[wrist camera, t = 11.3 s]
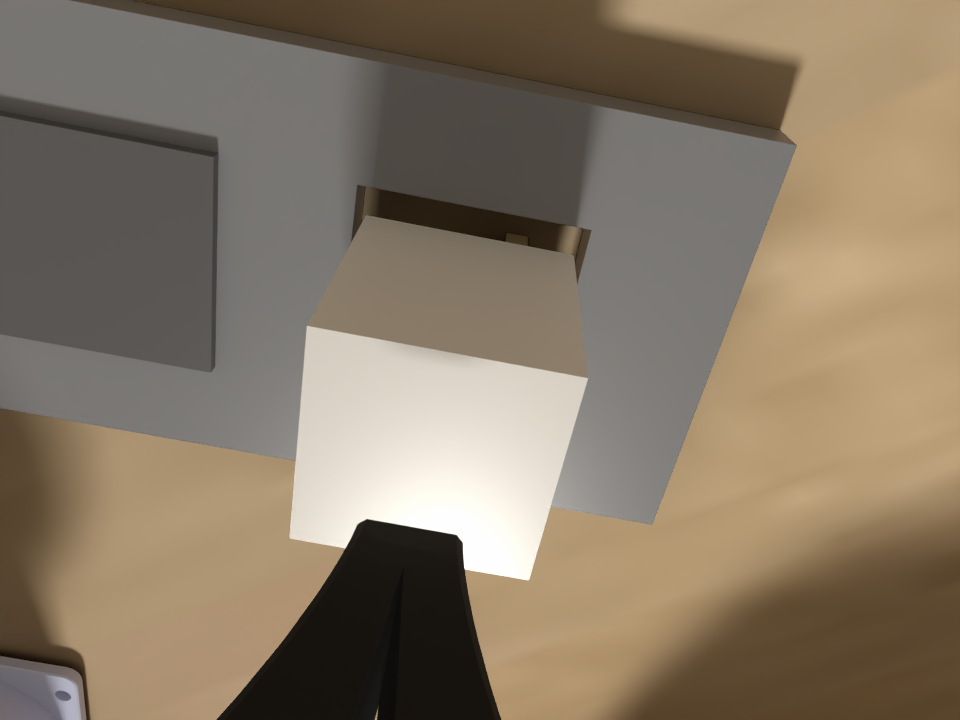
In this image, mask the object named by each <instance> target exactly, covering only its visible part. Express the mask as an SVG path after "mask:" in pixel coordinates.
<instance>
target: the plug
mask: <svg viewBox="0 0 960 720" xmlns="http://www.w3.org/2000/svg"><path fill="white" fill-rule="evenodd" d="M587 381H588V373H587V364H586V356H585V347H584V338H583V330H582V321H581V313H580V304H579V296H578V287H577V279H576V270H575V261H574V255H571V254H566V253H560V252H555V251H550V250H545V249H540V248H534V247H529V246H528V237H526V236H521V235H515V234H510V233H506V238H505V242H503V241H498V240H493V239H488V238H482V237H477V236H472V235H467V234H462V233H456V232H451V231H446V230H441V229H436V228H431V227H425V226H420V225H415V224H410V223H405V222H399V221H394V220H389V219H384V218H379V217H373V216H368V215H366V216H365V218H364V220H363V222H362V223H361V225H360V227H359V229H358V231H357V233H356V235H355V237H354V238H353V240H352V242H351V244H350V246H349V248H348V250H347V251H346V253H345V255H344V257H343V259H342V261H341V263H340V265H339V266H338V268H337V270H336V272H335V274H334V276H333V278H332V280H331V281H330V283H329V285H328V287H327V289H326V291H325V293H324V295H323V296H322V298H321V300H320V302H319V304H318V306H317V308H316V310H315V311H314V313H313V315H312V317H311V319H310V321H309V323H308V325H307V330H306V342H305V354H304V367H303V379H302V391H301V403H300V416H299V428H298V440H297V453H296V465H295V477H294V490H293V502H292V514H291V527H290V539H296V540H302V541H307V542H313V543H319V544H324V545H330V546H336V547H341V548H346V547H347V545H348V543H349V541H350V539H351V537H352V535H353V533H354V531H355V528H356V526H357V524H358V523H360V522H362V521H364V520H366V519H370V520H376V521H381V522H387V523H393V524H398V525H404V526H410V527H411V528H412V527H415V528H421V529H427V530H432V531H438V532H443V533H449V534H455V535H457V536H458V537H459V538H460V540H461V541H462V542H463V557H464V569H467V570H472V571H478V572H484V573H490V574H495V575H501V576H507V577H512V578H518V579H524V580H529V578H530V575H531V571H532V568H533V565H534V561H535V558H536V554H537V551H538V548H539V544H540V541H541V537H542V534H543V531H544V527H545V524H546V520H547V517H548V513H549V510H550V507H551V503H552V500H553V496H554V493H555V490H556V486H557V483H558V479H559V476H560V473H561V469H562V466H563V462H564V459H565V456H566V452H567V449H568V445H569V442H570V438H571V435H572V432H573V428H574V425H575V421H576V418H577V415H578V411H579V408H580V404H581V401H582V398H583V394H584V391H585V387H586V384H587Z"/></svg>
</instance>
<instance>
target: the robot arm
mask: <svg viewBox="0 0 960 720" xmlns="http://www.w3.org/2000/svg"><path fill="white" fill-rule="evenodd" d="M378 705H379V707H378ZM377 709H378V717H377V720H501V717H500V715H499V712H498V709H497V705H496V702H495V699H494V696H493V692H492V689H491V686H490V682H489V679H488V675H487V671H486V668H485V664H484V660H483V657H482V653H481V649H480V645H479V642H478V638H477V633H476V629H475V625H474V621H473V616H472V611H471V606H470V600H469V595H468V589H467V583H466V576H465V569H464V557H463V542H462V541H461V540H460V538H459V537H458V536H457V535H455V534H449V533H443V532H438V531H432V530H427V529H421V528H415V527H412V528H411V527H410V526H404V525H398V524H393V523H387V522H381V521H376V520H370V519H366V520H364V521H362V522H360V523H358V524H357V526H356V528H355V531H354V533H353V535H352V537H351V539H350V541H349V543H348V545H347V547H346V549H345V550H344V552H343V554H342V556H341V558H340V559H339V561H338V563H337V564H336V566H335V567H334V569H333V571H332V572H331V574H330V575H329V577H328V578H327V580H326V581H325V583H324V584H323V586H322V588H321V589H320V591H319V592H318V594H317V595H316V596H315V598H314V599H313V601H312V602H311V603H310V605H309V606H308V607H307V609H306V610H305V612H304V613H303V614H302V616H301V617H300V618H299V620H298V621H297V623H296V624H295V625H294V627H293V628H292V630H291V631H290V632H289V634H288V635H287V636H286V638H285V639H284V640H283V641H282V643H281V644H280V645H279V647H278V648H277V649H276V650H275V651H274V653H273V654H272V655H271V656H270V658H269V659H268V660H267V661H266V662H265V664H264V665H263V666H262V667H261V668H260V670H259V671H258V672H257V673H256V675H255V676H254V677H253V678H252V679H251V681H250V682H249V683H248V684H247V685H246V687H245V688H244V689H243V690H242V691H241V693H240V694H239V695H238V696H237V697H236V698H235V700H234V701H233V702H232V703H231V704H230V705H229V706H228V707H227V708H226V710H225V711H224V712H223V713H222V714H221V715H220V716H219V717H218V719H217V720H375V716H376V713H377ZM0 720H86V711H85V702H84V692H83V683H82V678H81V676H80V674H79V673H78V672H77V671H75V670H74V669H72V668H68V667H64V666H58V665H52V664H46V663H40V662H34V661H28V660H22V659H16V658H10V657H4V656H0Z"/></svg>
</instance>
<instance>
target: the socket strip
mask: <svg viewBox="0 0 960 720" xmlns="http://www.w3.org/2000/svg"><path fill="white" fill-rule="evenodd" d="M796 146H797V145H796V144H795V143H794V142H792V141H791V140H790V139H789V138H788V137H787V136H786V135H785V134H784V133H783V132H782V131H780V130H776V129H771V128H766V127H761V126H756V125H751V124H746V123H741V122H736V121H731V120H726V119H721V118H716V117H711V116H706V115H701V114H696V113H691V112H686V111H681V110H676V109H671V108H666V107H661V106H656V105H651V104H646V103H641V102H636V101H631V100H626V99H621V98H616V97H611V96H606V95H601V94H596V93H591V92H586V91H581V90H576V89H571V88H566V87H561V86H556V85H551V84H546V83H541V82H536V81H531V80H526V79H521V78H516V77H511V76H506V75H501V74H496V73H491V72H486V71H481V70H476V69H471V68H466V67H461V66H456V65H451V64H446V63H441V62H436V61H431V60H426V59H421V58H416V57H411V56H406V55H401V54H396V53H391V52H386V51H381V50H376V49H371V48H366V47H361V46H356V45H351V44H346V43H341V42H336V41H331V40H326V39H321V38H316V37H311V36H306V35H301V34H296V33H291V32H286V31H281V30H276V29H271V28H266V27H261V26H256V25H251V24H246V23H241V22H236V21H231V20H226V19H221V18H216V17H211V16H206V15H201V14H197V13H192V12H187V11H182V10H177V9H172V8H167V7H162V6H157V5H152V4H147V3H142V2H137V1H132V0H0V408H2V409H8V410H13V411H19V412H25V413H30V414H36V415H41V416H47V417H53V418H58V419H64V420H69V421H75V422H81V423H86V424H92V425H97V426H103V427H108V428H114V429H120V430H125V431H131V432H136V433H142V434H148V435H153V436H159V437H164V438H170V439H176V440H181V441H187V442H192V443H198V444H204V445H209V446H215V447H220V448H226V449H231V450H237V451H243V452H248V453H254V454H259V455H265V456H271V457H276V458H282V459H287V460H293V461H296V453H297V440H298V428H299V416H300V403H301V391H302V379H303V367H304V354H305V342H306V330H307V325H308V323H309V321H310V319H311V317H312V315H313V313H314V311H315V310H316V308H317V306H318V304H319V302H320V300H321V298H322V296H323V295H324V293H325V291H326V289H327V287H328V285H329V283H330V281H331V280H332V278H333V276H334V274H335V272H336V270H337V268H338V266H339V265H340V263H341V261H342V259H343V257H344V255H345V253H346V251H347V250H348V248H349V246H350V244H351V242H352V240H353V238H354V237H355V235H356V233H357V231H358V229H359V227H360V225H361V222H362V213H363V204H364V195H365V186H367V187H372V188H377V189H382V190H387V191H392V192H398V193H403V194H408V195H413V196H418V197H424V198H429V199H434V200H439V201H444V202H449V203H455V204H460V205H465V206H470V207H475V208H480V209H486V210H491V211H496V212H501V213H506V214H511V215H517V216H522V217H527V218H532V219H537V220H542V221H548V222H553V223H558V224H563V225H568V226H574V227H579V228H584V229H583V233H582V237H581V241H580V245H579V249H578V253H577V256H576V260H575V270H576V279H577V287H578V296H579V304H580V313H581V321H582V330H583V338H584V347H585V356H586V364H587V373H588V381H587V384H586V387H585V391H584V394H583V398H582V401H581V404H580V408H579V411H578V415H577V418H576V421H575V425H574V428H573V432H572V435H571V438H570V442H569V445H568V449H567V452H566V456H565V459H564V462H563V466H562V469H561V473H560V476H559V479H558V483H557V486H556V490H555V493H554V496H553V500H552V503H551V507H556V508H561V509H567V510H572V511H578V512H584V513H589V514H595V515H600V516H606V517H612V518H617V519H623V520H628V521H634V522H640V523H645V524H651V525H652V524H653V521H654V519H655V516H656V513H657V511H658V508H659V505H660V503H661V500H662V498H663V495H664V492H665V490H666V487H667V484H668V482H669V479H670V477H671V474H672V471H673V469H674V466H675V463H676V461H677V458H678V456H679V453H680V450H681V448H682V445H683V443H684V440H685V437H686V435H687V432H688V429H689V427H690V424H691V422H692V419H693V416H694V414H695V411H696V408H697V406H698V403H699V401H700V398H701V395H702V393H703V390H704V387H705V385H706V382H707V380H708V377H709V374H710V372H711V369H712V367H713V364H714V361H715V359H716V356H717V353H718V351H719V348H720V346H721V343H722V340H723V338H724V335H725V332H726V330H727V327H728V325H729V322H730V319H731V317H732V314H733V311H734V309H735V306H736V304H737V301H738V298H739V296H740V293H741V290H742V288H743V285H744V283H745V280H746V277H747V275H748V272H749V270H750V267H751V264H752V262H753V259H754V256H755V254H756V251H757V249H758V246H759V243H760V241H761V238H762V235H763V233H764V230H765V228H766V225H767V222H768V220H769V217H770V214H771V212H772V209H773V207H774V204H775V201H776V199H777V196H778V194H779V191H780V188H781V186H782V183H783V180H784V178H785V175H786V173H787V170H788V167H789V165H790V162H791V159H792V157H793V154H794V152H795V149H796Z"/></svg>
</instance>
